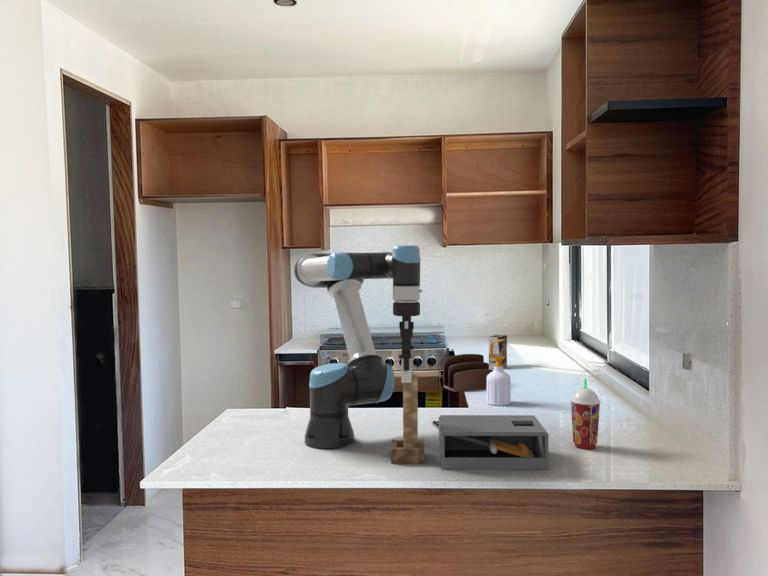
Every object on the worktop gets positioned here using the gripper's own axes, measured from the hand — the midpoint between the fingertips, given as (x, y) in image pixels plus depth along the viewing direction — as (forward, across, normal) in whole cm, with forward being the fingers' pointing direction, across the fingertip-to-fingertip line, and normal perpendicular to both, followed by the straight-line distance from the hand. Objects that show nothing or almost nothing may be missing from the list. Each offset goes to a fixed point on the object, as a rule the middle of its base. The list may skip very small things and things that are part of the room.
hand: (406, 377), depth 181 cm
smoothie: (+23, +12, -52) cm, 58 cm away
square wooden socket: (+23, 0, 0) cm, 23 cm away
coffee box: (+24, +146, -44) cm, 155 cm away
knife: (+24, +28, -12) cm, 39 cm away
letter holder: (+24, +97, -26) cm, 103 cm away
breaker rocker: (+18, 0, -23) cm, 29 cm away
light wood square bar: (+23, 0, -1) cm, 23 cm away
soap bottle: (+23, +68, -34) cm, 79 cm away
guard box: (+23, 0, -23) cm, 32 cm away
